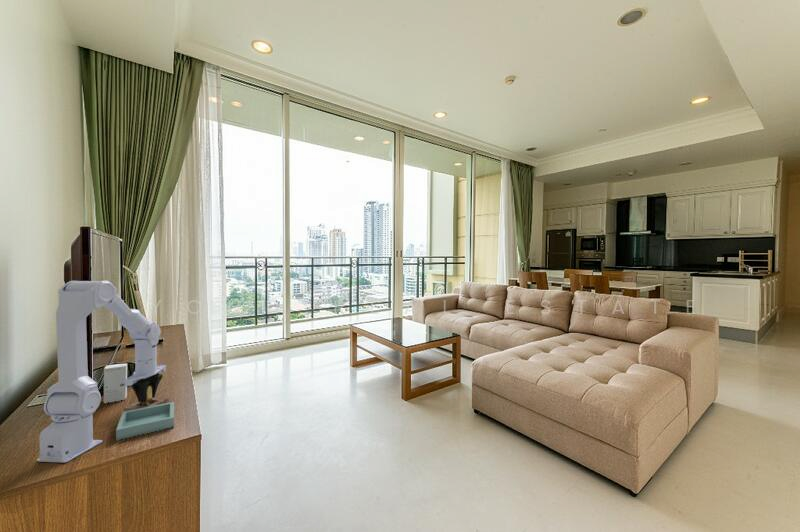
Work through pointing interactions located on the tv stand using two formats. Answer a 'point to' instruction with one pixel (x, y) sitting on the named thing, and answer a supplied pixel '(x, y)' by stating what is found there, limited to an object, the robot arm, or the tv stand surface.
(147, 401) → the pin
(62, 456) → the robot arm
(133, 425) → the tray
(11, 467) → the tv stand surface
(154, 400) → the collar
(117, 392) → the skincare box
